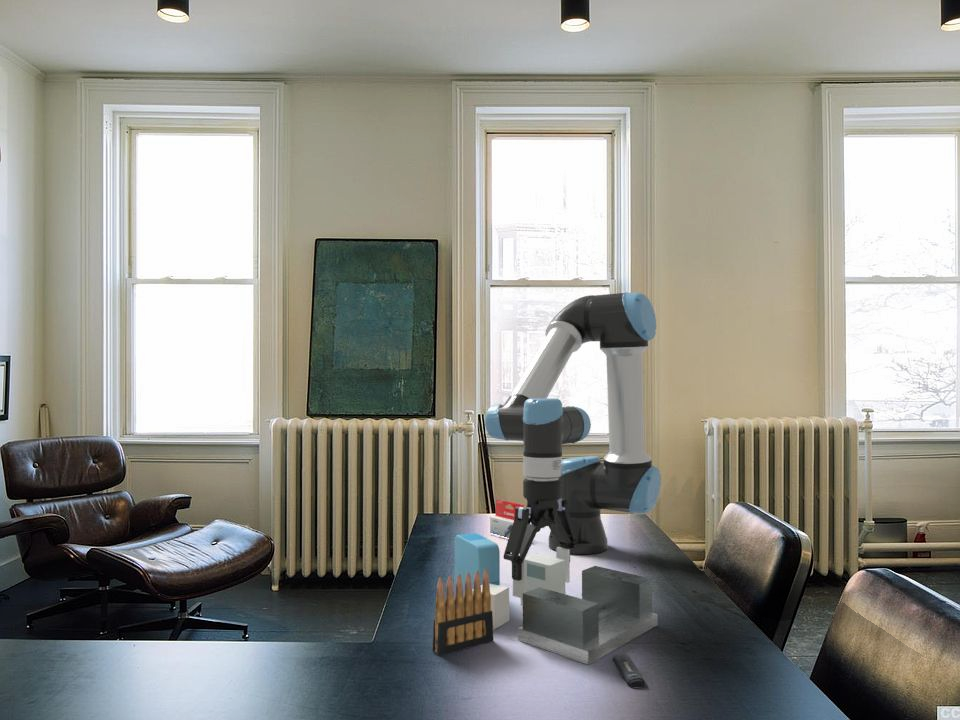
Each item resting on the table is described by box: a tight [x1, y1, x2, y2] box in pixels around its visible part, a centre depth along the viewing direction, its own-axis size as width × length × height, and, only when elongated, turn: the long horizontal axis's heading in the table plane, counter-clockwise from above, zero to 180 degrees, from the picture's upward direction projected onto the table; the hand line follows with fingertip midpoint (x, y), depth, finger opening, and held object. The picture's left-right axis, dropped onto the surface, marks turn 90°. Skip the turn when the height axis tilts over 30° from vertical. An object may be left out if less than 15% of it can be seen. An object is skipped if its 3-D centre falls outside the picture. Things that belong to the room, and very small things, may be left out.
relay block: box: [472, 583, 510, 630], centre depth 120 cm, size 5×5×6 cm
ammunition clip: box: [432, 569, 494, 657], centre depth 109 cm, size 11×2×12 cm, turn 123°
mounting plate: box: [517, 565, 658, 665], centre depth 115 cm, size 22×14×8 cm, turn 137°
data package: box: [453, 532, 501, 597], centre depth 132 cm, size 12×4×12 cm, turn 25°
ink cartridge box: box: [489, 499, 525, 538], centre depth 182 cm, size 2×11×10 cm, turn 43°
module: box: [520, 553, 566, 607], centre depth 128 cm, size 5×7×9 cm
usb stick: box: [612, 652, 646, 688], centre depth 99 cm, size 10×3×2 cm, turn 2°
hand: (542, 588), depth 128 cm, fingers open, 13 cm apart
